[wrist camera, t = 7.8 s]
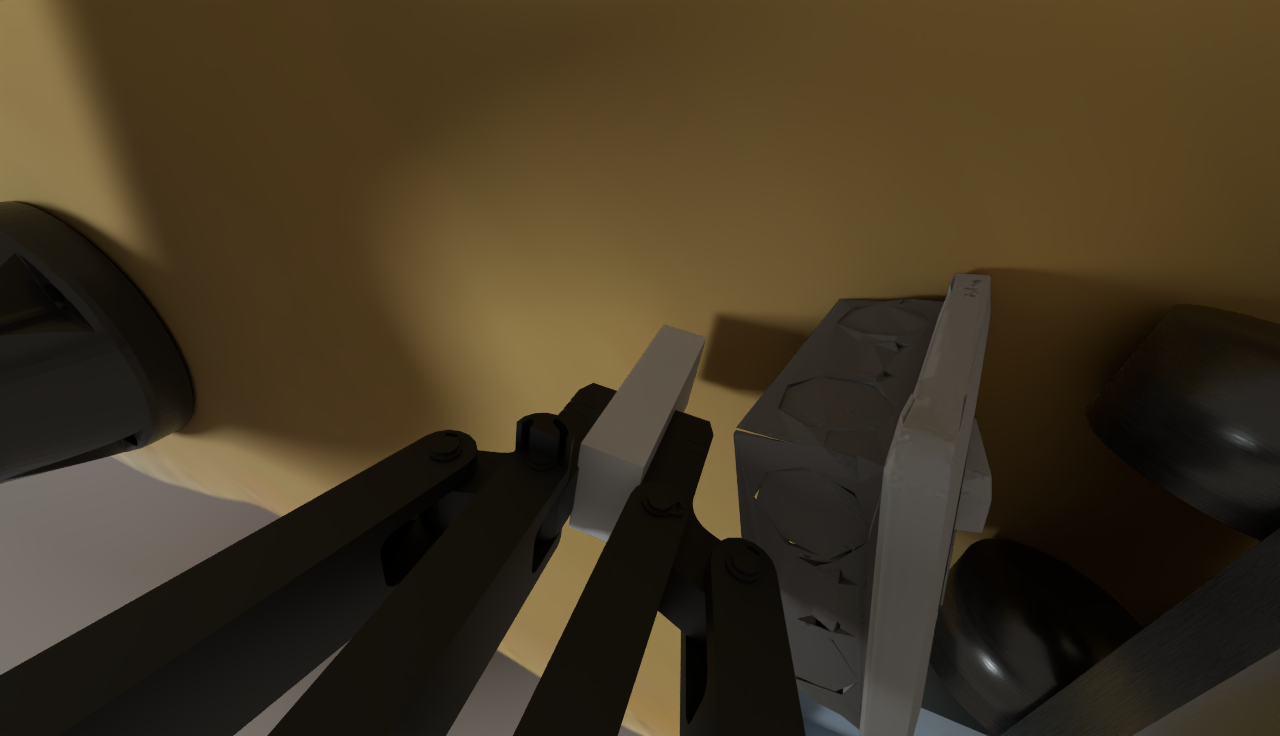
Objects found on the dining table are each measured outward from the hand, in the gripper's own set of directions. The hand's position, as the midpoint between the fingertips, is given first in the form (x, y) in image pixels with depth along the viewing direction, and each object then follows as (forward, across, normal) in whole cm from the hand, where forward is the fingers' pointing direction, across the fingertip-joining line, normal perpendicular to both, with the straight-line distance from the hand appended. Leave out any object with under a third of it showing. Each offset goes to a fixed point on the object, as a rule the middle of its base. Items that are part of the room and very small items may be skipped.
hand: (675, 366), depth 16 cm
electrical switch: (+2, +7, 0) cm, 7 cm away
